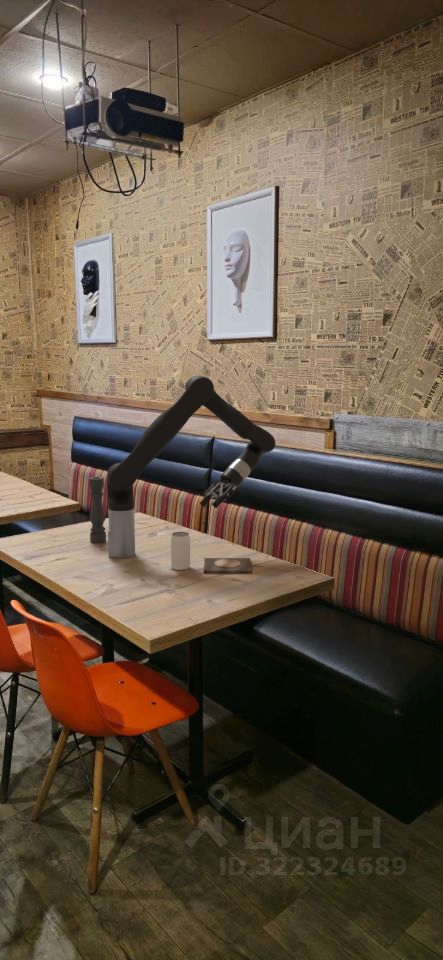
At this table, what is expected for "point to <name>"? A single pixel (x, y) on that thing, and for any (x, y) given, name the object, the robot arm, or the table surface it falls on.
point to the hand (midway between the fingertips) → (207, 505)
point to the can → (180, 551)
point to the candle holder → (97, 510)
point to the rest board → (227, 565)
